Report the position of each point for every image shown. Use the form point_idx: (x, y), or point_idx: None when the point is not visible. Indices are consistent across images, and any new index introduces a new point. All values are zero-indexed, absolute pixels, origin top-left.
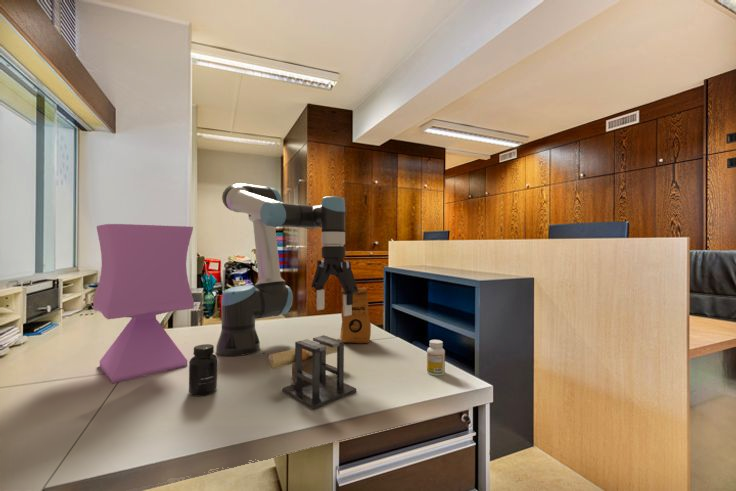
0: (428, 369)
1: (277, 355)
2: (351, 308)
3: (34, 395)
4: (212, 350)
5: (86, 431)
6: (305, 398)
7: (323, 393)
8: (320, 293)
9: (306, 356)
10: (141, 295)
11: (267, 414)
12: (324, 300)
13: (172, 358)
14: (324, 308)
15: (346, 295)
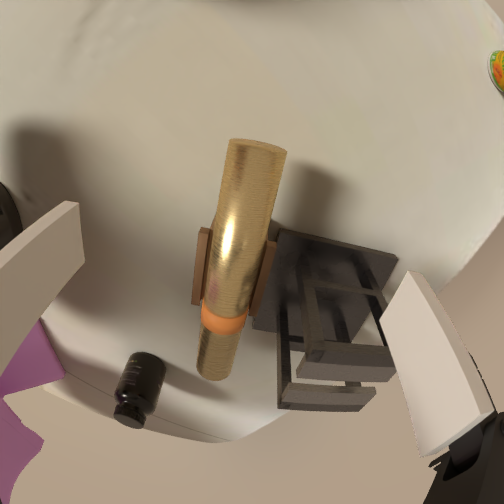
0: (500, 85)
1: (222, 375)
2: (440, 307)
3: (68, 396)
4: (138, 415)
5: (170, 421)
6: (323, 334)
7: (344, 308)
8: (2, 333)
9: (248, 306)
10: (16, 446)
11: (293, 368)
12: (32, 240)
13: (33, 338)
14: (75, 205)
15: (444, 438)
